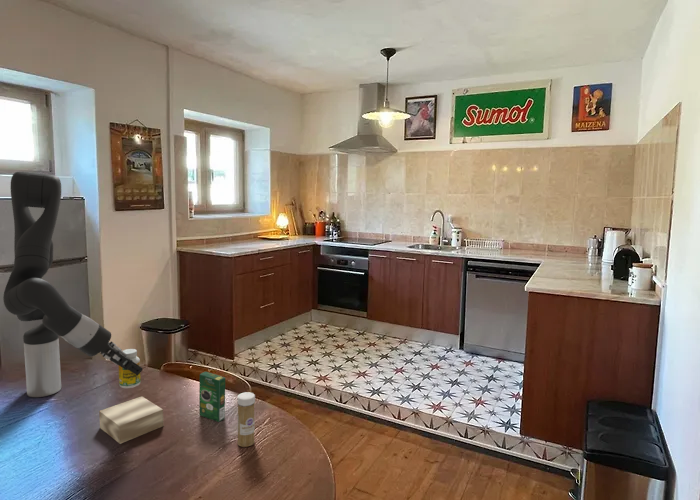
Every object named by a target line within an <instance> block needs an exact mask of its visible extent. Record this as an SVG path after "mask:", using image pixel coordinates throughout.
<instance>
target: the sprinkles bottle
mask: <svg viewBox="0 0 700 500" xmlns="http://www.w3.org/2000/svg"><path fill="white" fill-rule="evenodd" d="M236 397H237V399H236V401H237V443H236V444H237V445H238V446H239V447H242V448H246V447H247V448H248V447H250V446H251V447H252V445H254V444H255V441H256V440H255V421H256V420H255V402H256V394H254V392H249V391H248V392H246V391H244V392H242V393H239V394H238V395H237V396H236Z"/></svg>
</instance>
